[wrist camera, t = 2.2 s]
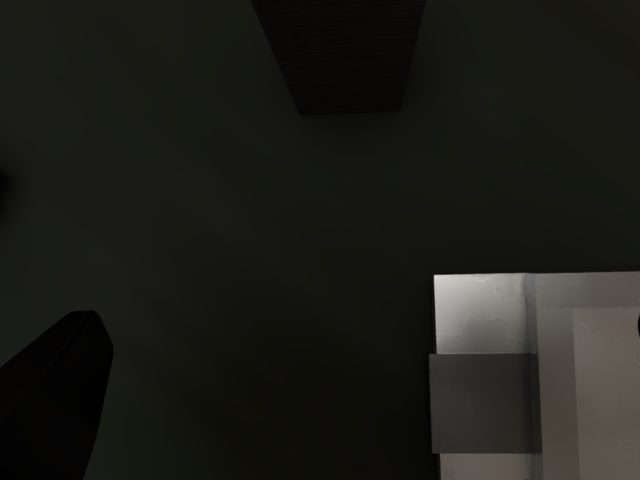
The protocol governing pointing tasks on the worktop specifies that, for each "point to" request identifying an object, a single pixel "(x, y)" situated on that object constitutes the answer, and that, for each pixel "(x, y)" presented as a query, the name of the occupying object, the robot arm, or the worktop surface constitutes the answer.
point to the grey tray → (536, 375)
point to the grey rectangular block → (343, 51)
